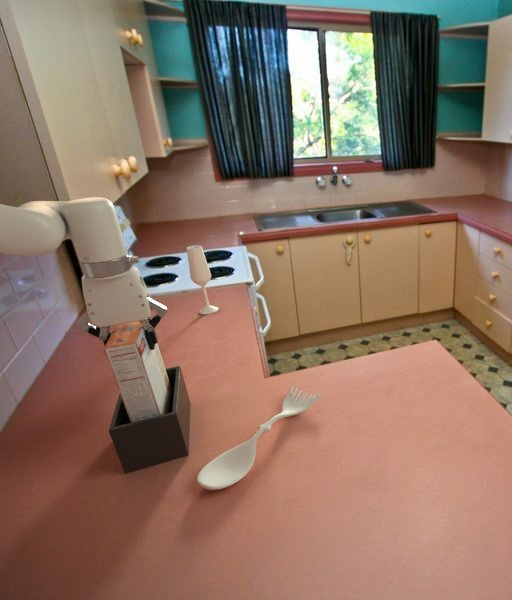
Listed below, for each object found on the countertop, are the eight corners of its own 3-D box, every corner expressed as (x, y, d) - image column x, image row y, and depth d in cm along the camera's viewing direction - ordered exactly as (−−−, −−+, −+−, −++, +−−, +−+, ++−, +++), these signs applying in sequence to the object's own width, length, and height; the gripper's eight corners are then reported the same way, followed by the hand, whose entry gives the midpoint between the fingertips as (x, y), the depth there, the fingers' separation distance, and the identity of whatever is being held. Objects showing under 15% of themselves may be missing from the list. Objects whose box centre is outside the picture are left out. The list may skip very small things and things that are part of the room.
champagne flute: (194, 311, 155) (179, 248, 146) (211, 305, 160) (197, 243, 151) (206, 315, 152) (190, 251, 142) (222, 308, 157) (208, 245, 147)
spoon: (324, 402, 103) (323, 391, 102) (224, 504, 77) (220, 489, 76) (294, 394, 107) (292, 382, 106) (189, 488, 81) (184, 474, 79)
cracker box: (144, 398, 97) (118, 316, 89) (173, 392, 99) (150, 311, 91) (133, 438, 85) (101, 347, 77) (166, 430, 87) (138, 340, 79)
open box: (124, 473, 84) (108, 430, 80) (137, 415, 101) (124, 377, 97) (188, 455, 88) (176, 413, 84) (190, 402, 105) (180, 365, 101)
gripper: (160, 254, 85) (181, 333, 92) (57, 267, 79) (88, 351, 86) (157, 265, 79) (180, 349, 86) (44, 280, 73) (79, 370, 80)
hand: (134, 349), depth 86 cm, fingers closed on cracker box, 6 cm apart
